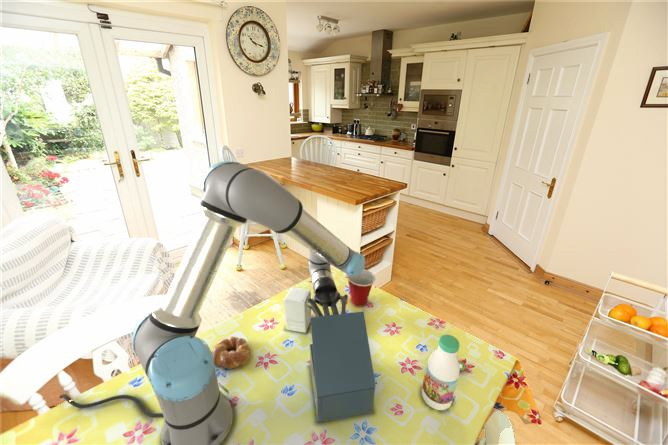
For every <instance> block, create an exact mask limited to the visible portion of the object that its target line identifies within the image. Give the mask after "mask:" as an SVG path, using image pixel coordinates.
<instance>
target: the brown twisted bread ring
mask: <svg viewBox="0 0 668 445" xmlns="http://www.w3.org/2000/svg"><path fill="white" fill-rule="evenodd" d="M250 349H251V348H250V345H249V344H247V340H246V339H245V338H243V337H237V336H229V337H227V338H223V339H221V340H219V341H218V342H217V343H216V344H215V346H214V347H213V349H212V351H211V352H212V355H213V358H214V366H215V367H222V368H225V369H226V370H227V369H228V370H232V369H235V368H237V367H238V366H243V365H245V364H246V363H247V362H248V361H249V359H250Z"/></svg>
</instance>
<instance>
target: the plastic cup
mask: <svg viewBox="0 0 668 445" xmlns="http://www.w3.org/2000/svg"><path fill="white" fill-rule="evenodd" d="M346 278H347V282H348V286H349V295H350V301H351V303H352V305H353V306H355V307H363V306H365V305H366V304H367V302H368V299H369V296H370V293H371V289H372V287H373V284H374V283H375V282H376V279H377V278H376V275H375V274H374V273H373V271H370V270H368V269H365V268H364V269H363V270H362V272H361V273H360V274H359V275H358V276H355V277H353V276H350V275H348V274H346Z"/></svg>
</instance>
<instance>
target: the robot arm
mask: <svg viewBox="0 0 668 445" xmlns="http://www.w3.org/2000/svg"><path fill="white" fill-rule="evenodd" d="M201 185H202V190H203V193H204V194H203V196H202V199H201V201H200V203H199V208H200V211H201V213H202V216H201V218H200V220H199V222H198V224H197V227H196V229H195V231H194V233H193V236H192V238H191V240H190V242H189V245H188V247H187V249H186V251H185V253H184V255H183V258H182V260H181V262H180V264H179V266H178V269H177V271H176V273H175V275H174V277H173V280H172V282H171V284H170V286H169V288H168V290H167V293H166V295H165V297H164V300H163V302H161V303H159V304H157V305H155V306H154V307H153V308H152V310H151V311H150V312H149V313H148V314H147V315H145V316H143V317H142V318H141V319H140V320H139V321H138V322H137V324H136V326H135V327H134V329H133V331H132V336H131V343H132V346H133V347H132V348H133V352H134V354H135V356H136V357H137V359H138V361H139V363H140V365H141V367H142V369H143V371H144V373H145V375H146V377H147V379H148V382H149V384H150V386H151V388H152V390H153V393H154V394H155V397H156V399H157V403H158V405H159V408H160V410H161V412H152V411H149V410H148V409H147V408H146V407H145V405H144V404H143V403H142V402H141V400H139V399H138V398H137V397H135V396H133V395H130V394H119V395H113V396H110V397H107V398H104V399H101V400H99V401H95V402H90V403H79V402H76V401H75V400H73V401H71V402H69V400H71V399H72V398H71V397H70V395H68V394H66V393H62V394H60V395H59V399H62V398H63V400H65V401H66V402H67V401H68V402H67V403H68V404H70V405H71V406H72V407H75V408H78V409H88V408H92V407H97V406H99V405H100V406H101V405H102V404H107V403H108V402H109V403H110V402H112V401H116V400H121V399H123V400H130V401H133V402H134V403H135V404H136V406H137V407H138V408H139V409H140V411H141V412H142V413H143V414H144V415H146V416H147V417H148V418H149V417H150V418H163V423H162V424H163V425H162V431H161V445H222V444H223V443H224V441H225V440H226V438H227V437H228V435H229V433H230V431H231V428H232V425H233V420H234V414H233V407H232V404H231V402H230V400H229V399H228V397H227V396H226V395H225V394H224V393H223V392H222V391H221V390H220V388H221V389H222V390H223V391H224V392H225V393H227V394H228V395H230V392H229V389H228V388H226V387H225V386H224V385H223V384H222V383H221V382H218V378H217V372H216V366H215V365H214V358H213V355H212V351H211V350H212V349H211V348H210V346H209V345H208V343H207V342H206V341H204V340H203V339H202V338H200V337H197V336H196V335H197V333H198V330H199V328H200V325H201V324H202V317H201V314H200V310H201V308H202V307H203V304H204V302H205V299H206V297H207V295H208V292H209V291H210V289H211V286H212V284H213V282H214V280H215V277H216V275H217V273H218V271H219V268H220V266H221V264H222V261H223V259H224V257H225V255H226V253H227V251H228V249H229V246H230V244H231V242H232V240H233V237H234V235H235V233H236V230H237V229H238V228H240V227H241V226H243V225H246V224H247V222H248V220H249V221H251V222H254V223H256V224H258V225H261V226H262V227H265V228H268V229H269V230H272V231H273V232H274V233H276V234H279V235H283V234H284V235H286V236H288V237H289V238H291V239H293V240H294V241H295V242H297V243H299V244H300V245H301V246H303V247H305V248H306V249H308V251H309V254H308V256H309V261H308V272H309V275H310V279H311V285H312V290H313V294H314V295H313V298H312V297H311V298H309V299H308V307H309V308H311V312H312V313H313V314H314V317H320V316H328V315H331V313H330V310H331V312H332V315H337V314H345V313H347V312H346V311H347V310H346V308H347V305H348V300H349V298H348V297H349V295H348V294H343V295H342V294H341V293H340V292H339V291H338V289H337V285H336V283H335V279H334V276H333V273H332V269H331V266H332V267H334V268H336V269H337V270H339V271H341V272H343V273H344V274H345V275H347V274H348V275H350V276H353V277H355V276H358V275H359V274H360V273H361V272H362V270H363V269H365V267H366V258H365V256H364V255H363V254H361V253H359V252H358V251H355V250H353V249H352V248H350V246H348V245H347V244H346V243H345V242H343V241H342V240H341V239H340V238H338V237H337V236H336V235H335V234H334V233H333V232H331V230H329V229H328V228H326V227H325V226H324V225H323V224H322V223H321V222H319V221H318V220H317V219H316V218H314V217H313V216H312V215H311V214H310V213H309V212H307V211H306V210H305V209H304V206H303V203H302V202H301V200H299V199H298V197H296V196H295V195H294V194H292V192H290V191H289V190H288V189H287V188H286V186H284V185H283V184H282V183H281V182H279V181H278V180H277V179H275V177H273V176H272V175H270V174H269V173H267V172H265V171H264V170H261V169H257V168H254V167H251V166H249V165H246V164H243V163H241V162H238V161H229V160H227V161H225V160H224V161H220V162H217V163H214V164H213V165H211V166H210V167H209V168H208V169H207V171H206V172H205V173H204V175H203V178H202V184H201ZM339 301H340V304H341V311H340V313H339V309H338V306H337V304H338V302H339ZM318 305H319V306H320V307H321V308H322V310H321V309H320V308H319V306H318ZM329 308H330V309H329ZM322 312H323V313H322Z"/></svg>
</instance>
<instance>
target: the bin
mask: <svg viewBox="0 0 668 445" xmlns="http://www.w3.org/2000/svg"><path fill="white" fill-rule="evenodd" d="M309 361H310V362H309V366H310V367H309V368H310V374H311V383H312V390H313V397H314V405H315V413H316V421H317V423H323V422H327V421H332V420H338V419H345V418H350V417H355V416H361V415H367V414H372V413H373V411H374V402H375V392H376V387H374V388H368V389H362V390H356V391H350V392H344V393H338V394H332V395H326V396H320V397H317V389H316V378H315V367H314V355H313V344H312V343H310V344H309Z"/></svg>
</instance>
